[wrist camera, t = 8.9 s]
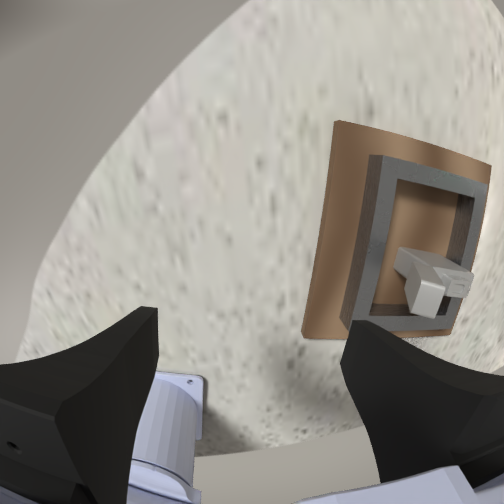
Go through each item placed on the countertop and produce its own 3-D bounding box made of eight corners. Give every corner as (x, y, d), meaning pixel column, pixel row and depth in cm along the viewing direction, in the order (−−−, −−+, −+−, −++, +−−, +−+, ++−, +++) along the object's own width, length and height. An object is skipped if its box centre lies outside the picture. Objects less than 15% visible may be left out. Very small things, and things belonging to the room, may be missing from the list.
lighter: (440, 254, 21) (510, 295, 14) (434, 275, 22) (500, 322, 14) (363, 239, 20) (428, 285, 13) (356, 264, 21) (416, 319, 13)
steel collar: (338, 317, 22) (348, 331, 20) (369, 154, 19) (383, 154, 17) (438, 317, 23) (451, 328, 21) (471, 181, 20) (487, 184, 18)
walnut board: (301, 331, 23) (303, 338, 22) (334, 121, 19) (339, 120, 18) (444, 329, 25) (450, 334, 24) (483, 164, 20) (491, 165, 20)
